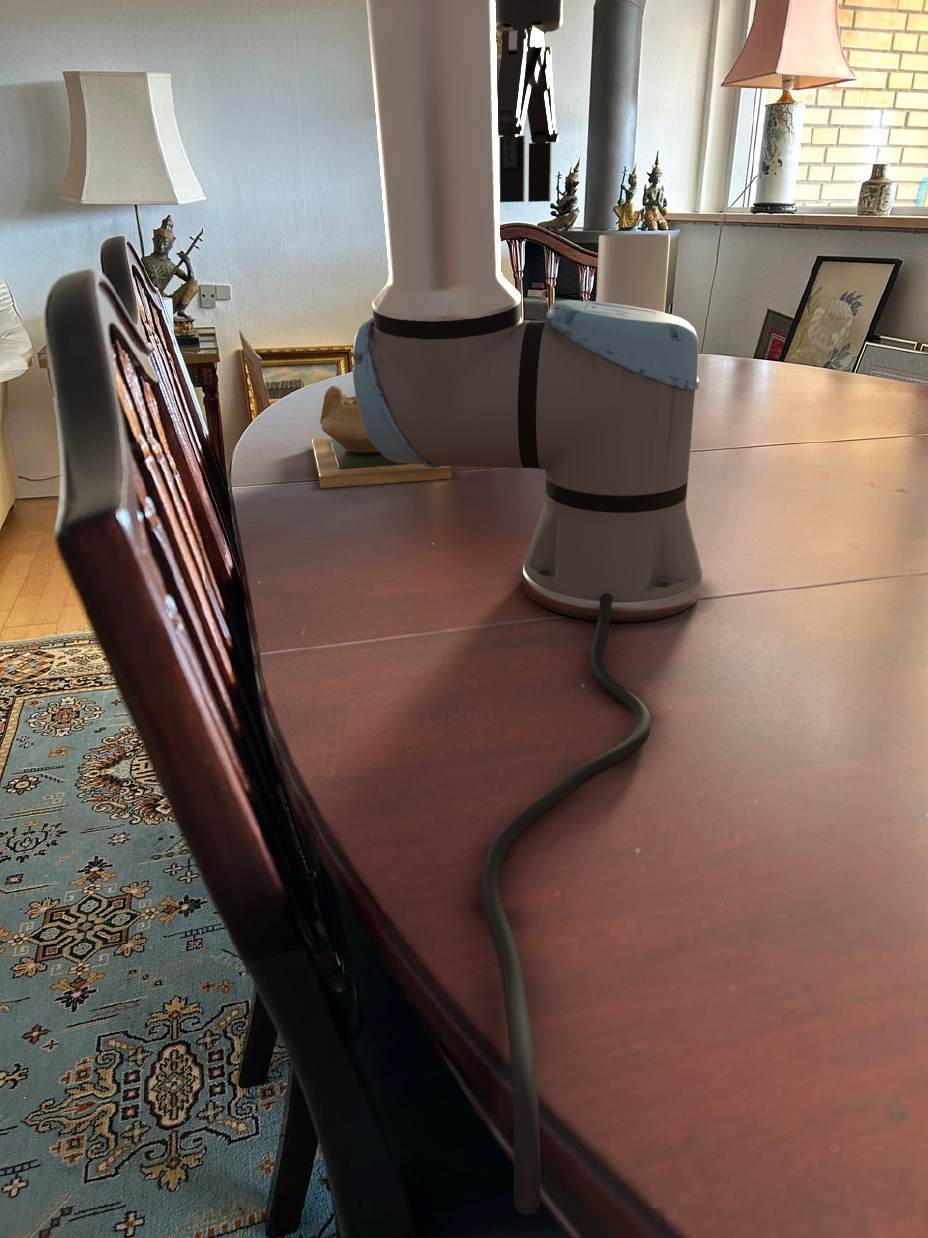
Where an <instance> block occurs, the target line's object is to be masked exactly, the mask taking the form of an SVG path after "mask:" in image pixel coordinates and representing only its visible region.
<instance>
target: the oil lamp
mask: <svg viewBox="0 0 928 1238" xmlns="http://www.w3.org/2000/svg"><path fill="white" fill-rule="evenodd" d="M319 424H320V425H321V430H322V431H323V432H324V433H325V434H326V435H327V436H328V437H331V438H333V439H334V440H335V441H337V442H338V443H339V444H341V445H342V446H343V448H344V449H347V450H349V451H355V452H379V450H377V449H376V448H375V446H374V445H373V444H372V442H371V440H370V439H369V437H368V435H367V433H366V430H365V428H364V425H363V422H362V419H361V416H360V412H359V408H358V404H357V400H356V395H355V396H349V397H348V396H347V395H346V394H344V393H343V390H342V388H340V387H339V386H337V385H330V386H329V387H328V389H327V390H326V391H325V394H324V396H323V403H322V409H321V415H320V419H319Z"/></svg>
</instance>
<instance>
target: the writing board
mask: <svg viewBox="0 0 928 1238" xmlns="http://www.w3.org/2000/svg"><path fill="white" fill-rule="evenodd" d="M311 447H312V452H313V453H312V454H313V456H314V463H315V466H316V472H317V476H318V481H319V486H320V489H329V488H330V489H331V488H342V487H343V488H345V487H358V486H370V485H383V484H384V485H385V484H398V483H409V482H423V481H435V480H448V479H452V466H441V467H436V468H431V467H427V466H424V465H421V464H409V463H398V462H394V461H391V460H389V459H387V458H386V457H384V456H383V455H382V454H381V453H380V452H355V451H349V450H347V449H344V448H343V446H342V445H341V444H339V443H338V442H337V441H335V440H334V439H333V438H331V437H330V436H325V437H323V436H322V437H312V438H311Z"/></svg>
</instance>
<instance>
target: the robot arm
mask: <svg viewBox="0 0 928 1238" xmlns="http://www.w3.org/2000/svg"><path fill="white" fill-rule="evenodd" d="M365 2H366V13H367V24H368V27H367V28H368V37H369V49H370V60H371V71H372V85H373V95H374V109H375V119H376V132H377V145H378V155H379V156H378V157H379V166H380V167H379V168H380V179H381V180H380V181H381V191H382V203H383V204H382V205H383V213H384V215H383V216H384V225H385V227H384V228H385V237H386V239H385V240H386V249H387V250H386V251H387V261H388V262H387V263H388V279H387V283H386V284H385V285H384V286H383V287H382V289H381V290H380V291H379V292H378V293H377V294H376V296H375V297H374V298H373V300H372V303H371V304H372V306H371V308H372V315H373V317H372V318H370V319H369V320H368V321H367V320H366V321H364V322H363V323H362V324H361V326H360V327H359V328H358V329H357V331H356V334H355V338H354V342H353V350H352V357H353V360H354V366H353V367H352V379H353V387H354V395H355V396H356V400H357V404H358V408H359V412H360V416H361V419H362V422H363V425H364V428H365V430H366V433H367V435H368V437H369V439H370V440H371V442H372V444H373V445H374V446H375V448H376V449H377V450H379V452H380V453H381V454H382V455H383V456H384V457H386V458H387V459H389V460H391V461H394V462H398V463H409V464H421V465H424V466H427V467H431V468H436V467H441V466H451V467H459V468H460V467H461V468H462V467H463V468H464V467H466V468H497V469H498V468H501V469H505V468H506V469H539V470H545V495H544V496H545V498H544V503H543V506H542V509H541V511H540V515H539V518H538V520H537V523H536V526H535V530H534V531H533V535H532V538H531V540H530V543H529V546H528V549H527V552H526V555H525V557H524V561H523V566H522V587H523V590H524V592H525V594H526V595H527V596H528V597H529V598H530V599H531V600H532V601H534V602H535V603H537V604H538V605H540V606H542V607H544V608H545V609H548V610H550V611H552V612H556V613H558V614H561V615H565V616H569V617H573V618H576V619H577V618H578V619H582V620H583V619H584V620H589V621H597V622H596V628H595V629H596V630H595V633H594V634H595V635H594V639H593V642H592V646H591V651H590V668H591V669H590V670H591V672H592V675H593V677H594V679H596V681H597V683H599V685H600V686H601V687H602V688H603V689H604V691H606V692H607V693H608V694H610V696H611V697H613V698H614V699H615V700H617V701H618V702H620V703H621V704H622V705H624V707H626V708H627V709H628V710H629V711H631V713H632V714H633V716H634V718H635V721H636V724H635V728H634V730H633V731H632V733H631V734H630V735H629V737H628V738H626V739H625V740H624V741H622V742H621V743H619V744H617V745H616V746H614V747H612V748H611V749H609V750H607V751H605V752H603V753H601V754H600V755H597V756H596V757H593V758H592V759H590V760H588V761H586V762H585V763H584V764H581V765H580V766H578V767H577V768H575V769H574V770H572V771H571V772H570V773H569V774H568V775H566V776H565V777H564V778H563V779H561V780H560V781H559V782H558V783H556V785H554V786H553V787H551V788H550V789H549V790H547V791H546V792H545V793H543V794H542V795H541V796H539V797H538V798H537V799H535V800H534V801H532V802H531V803H530V804H529V805H528V806H526V807H525V808H524V809H522V810H521V811H520V812H519V813H518V814H516V815H515V816H514V817H513V818H512V819H511V820H510V821H508V823H507V824H506V825H505V826H503V828H502V829H501V830H500V831H499V833H498V834H497V836H496V837H495V838H494V839H493V841H492V843H491V845H490V847H489V848H488V850H487V853H486V855H485V856H484V860H483V863H482V866H481V871H480V878H479V879H480V881H479V891H480V900H481V901H480V902H481V906H482V911H483V914H484V918H485V922H486V924H487V927H488V930H489V934H490V937H491V939H492V943H493V946H494V950H495V953H496V956H497V960H498V961H497V962H498V965H499V969H500V975H501V982H502V983H501V984H502V990H503V1001H504V1008H505V1015H506V1016H505V1018H506V1026H507V1035H508V1045H509V1056H510V1065H511V1066H510V1067H511V1068H510V1069H511V1081H512V1082H511V1087H512V1114H513V1118H512V1119H513V1204H514V1205H513V1206H515V1208H516V1210H517V1212H518V1213H520V1214H522V1215H524V1216H529V1215H533V1214H536V1212H537V1210H538V1209H539V1207H540V1206H541V1137H540V1136H541V1135H540V1134H541V1133H540V1114H539V1113H540V1112H539V1095H538V1094H539V1093H538V1078H537V1069H536V1058H535V1049H534V1042H533V1034H532V1027H531V1022H530V1021H531V1020H530V1014H529V1007H528V1001H527V993H526V987H525V979H524V973H523V968H522V962H521V958H520V954H519V949H518V946H517V943H516V941H515V937H514V934H513V932H512V928H511V926H510V923H509V921H508V918H507V915H506V912H505V909H504V906H503V902H502V899H501V893H500V877H501V872H502V870H503V869H502V868H503V865H504V863H505V860H506V858H507V856H508V854H509V852H510V850H511V848H512V847H513V846H514V844H515V843H516V841H517V840H518V839H519V838H520V837H522V835H523V834H524V833H525V832H526V831H527V830H529V828H530V827H531V826H533V825H534V824H536V822H538V821H539V820H541V819H542V818H543V817H544V816H546V815H547V814H548V813H550V812H551V811H552V810H553V809H555V808H556V807H557V806H559V805H560V804H561V803H563V802H564V801H565V800H566V799H567V798H569V797H570V795H572V794H573V793H574V792H575V791H577V790H578V789H579V788H580V787H582V786H583V785H585V784H586V783H587V782H589V781H590V780H592V779H593V778H595V777H597V776H598V775H600V774H602V773H604V772H606V771H608V770H609V769H611V768H613V767H615V766H616V765H618V764H620V763H622V762H623V761H625V760H627V759H628V758H630V757H631V756H632V755H634V754H635V753H636V752H637V751H638V750H640V748H642V747H643V745H644V744H645V743H646V742H647V740H648V738H649V737H650V734H651V730H652V715H651V714H650V711H649V709H648V708H647V706H646V705H645V704H644V702H643V701H641V699H640V698H639V697H637V696H636V695H635V694H634V693H632V692H631V691H630V690H628V689H627V688H626V687H624V686H623V685H622V684H620V683H619V682H617V681H616V679H614V678H613V677H612V676H611V674H609V671H607V668H606V666H605V661H604V655H605V651H606V646H607V642H608V638H609V632H610V622H611V623H613V622H616V623H625V622H626V623H630V622H642V621H643V622H644V621H650V620H656V619H662V618H665V617H670V616H673V615H675V614H678V613H680V612H683V611H685V610H686V609H688V608H690V607H692V606H693V605H694V604H695V603H696V602H697V601H698V599H699V598H700V595H701V589H702V578H703V569H702V564H701V562H700V556H699V553H698V548H697V544H696V540H695V536H694V532H693V528H692V524H691V520H690V516H689V512H688V508H687V497H688V486H689V485H688V484H689V475H690V460H691V447H692V433H693V422H694V407H695V396H696V390H699V387H700V379H699V377H698V369H699V337H698V334H697V331H696V330H695V328H694V327H693V326H692V325H691V323H689V321H687V320H685V319H683V318H681V317H679V316H676V315H673V314H670V313H666V312H665V313H663V312H659V311H655V310H650V309H645V308H640V307H634V306H627V305H620V304H613V303H604V302H596V301H592V300H587V301H584V300H583V301H582V300H575V299H566V300H565V299H564V300H557V301H554V302H552V303H551V304H550V306H549V310H547V312H546V320H527V319H522V311H521V310H522V309H521V308H522V307H521V294H520V292H519V291H518V289H516V288H515V287H514V286H513V285H512V284H511V282H509V281H508V280H507V278H505V277H504V276H503V273H502V272H501V236H500V227H501V226H500V203H521V202H522V203H525V202H526V135H522V134H523V132H524V125H525V121H526V116H527V121H528V127H529V133H530V141H531V142H529V143H528V183H527V184H528V185H527V186H528V188H527V189H528V193H527V194H528V195H527V196H528V197H527V198H528V199H527V200H528V203H534V202H535V203H538V202H540V203H542V202H551V199H552V157H553V156H552V154H553V153H552V151H553V148H552V147H553V143H558V142H559V139H560V138H559V133H558V132H557V127H556V116H555V102H554V101H555V100H554V87H553V71H552V70H553V69H552V55H553V50H552V46H545V39H544V38H545V34H546V33H548V32H549V33H551V32H555V31H558V30H559V29H560V28H561V27H562V25H563V14H564V13H563V11H564V9H563V6H564V0H365ZM496 31H497V32H499V33H501V34H502V35H501V56H500V65H499V73H498V82H497V42H496V40H497V39H496V34H497V33H496ZM498 137H499V138H498Z"/></svg>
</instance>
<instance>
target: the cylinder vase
mask: <svg viewBox="0 0 928 1238" xmlns="http://www.w3.org/2000/svg"><path fill="white" fill-rule="evenodd" d="M670 245H671V234H668V233H626V234H625V233H624V234H623V233H621V234H620V233H619V234H602V235H598V252H597V253H598V254H597V273H596V274H597V275H596V278H597V280H596V301H595V302H604V303H613V304H620V305H627V306H634V307H640V308H645V309H650V310H655V311H659V312H663V313H666V299H667V287H668V286H667V285H668V272H669V258H670Z"/></svg>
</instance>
